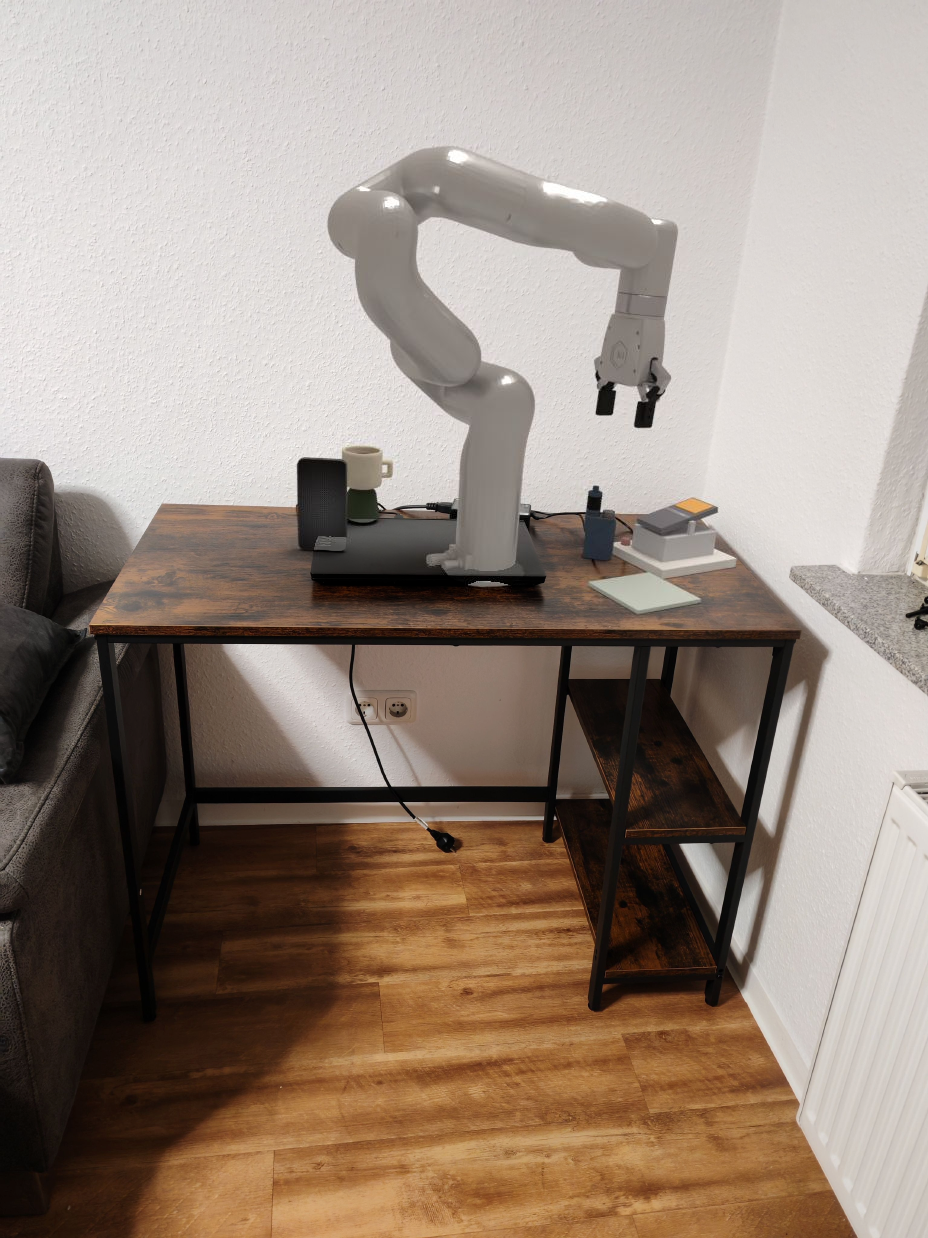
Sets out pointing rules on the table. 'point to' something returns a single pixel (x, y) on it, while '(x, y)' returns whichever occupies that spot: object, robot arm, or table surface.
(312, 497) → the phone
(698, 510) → the plate
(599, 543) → the vaping device
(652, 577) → the mat
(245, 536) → the table surface
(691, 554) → the white rocker switch base
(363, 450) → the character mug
